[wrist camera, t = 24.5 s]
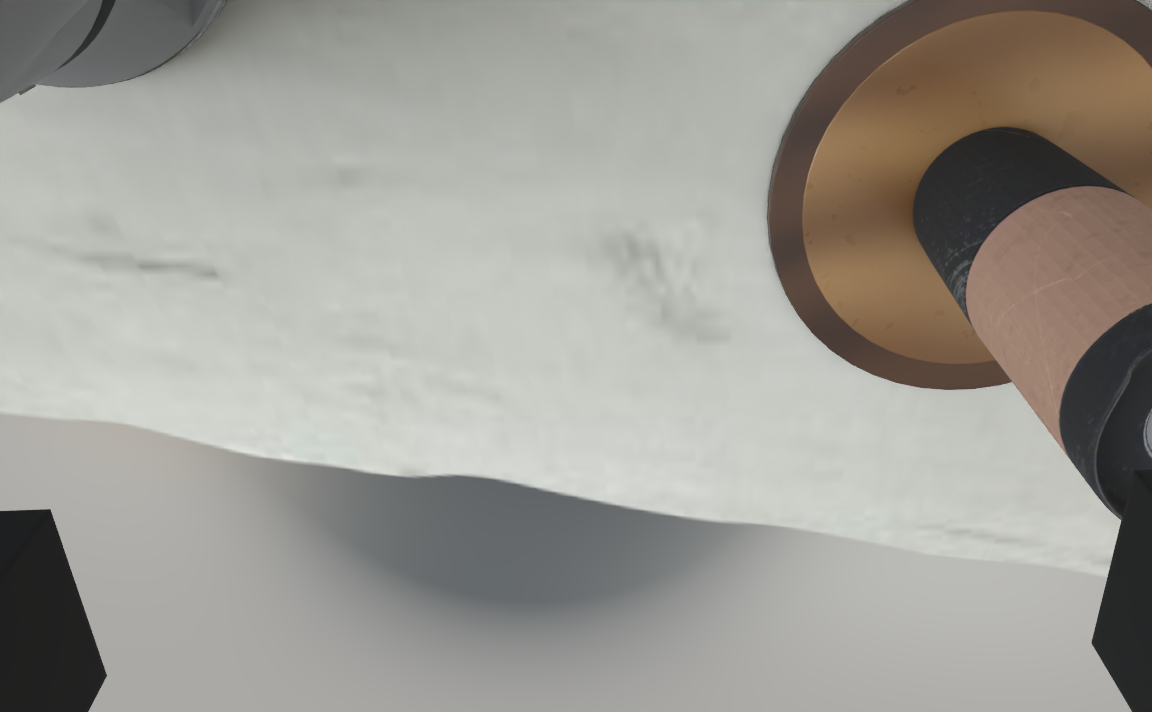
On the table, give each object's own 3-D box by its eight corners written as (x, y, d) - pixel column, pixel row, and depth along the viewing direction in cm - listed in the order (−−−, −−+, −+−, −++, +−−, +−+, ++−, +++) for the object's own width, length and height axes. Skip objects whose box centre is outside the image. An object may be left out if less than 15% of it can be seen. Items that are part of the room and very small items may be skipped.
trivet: (712, 71, 47) (713, 74, 46) (1184, -106, 44) (1192, -105, 43) (828, 433, 56) (830, 439, 55) (1227, 309, 52) (1234, 315, 52)
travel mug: (1043, 286, 51) (1288, 555, 34) (886, 268, 51) (1051, 531, 33) (1100, 130, 48) (1408, 340, 30) (931, 109, 47) (1144, 309, 30)
